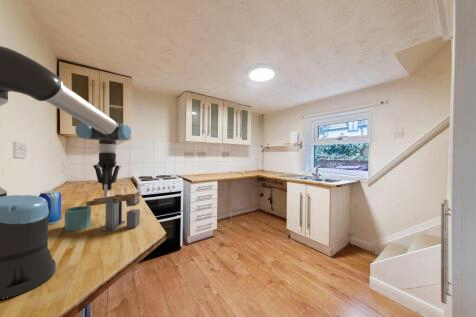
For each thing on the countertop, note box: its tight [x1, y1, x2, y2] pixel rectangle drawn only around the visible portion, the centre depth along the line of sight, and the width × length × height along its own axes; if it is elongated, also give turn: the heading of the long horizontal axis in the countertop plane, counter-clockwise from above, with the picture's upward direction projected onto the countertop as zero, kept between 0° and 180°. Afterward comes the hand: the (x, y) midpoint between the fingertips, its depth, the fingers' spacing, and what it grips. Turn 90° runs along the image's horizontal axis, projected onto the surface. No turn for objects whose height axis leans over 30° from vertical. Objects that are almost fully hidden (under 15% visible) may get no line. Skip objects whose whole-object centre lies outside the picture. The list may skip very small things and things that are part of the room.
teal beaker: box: [64, 205, 92, 232], centre depth 90 cm, size 9×9×9 cm
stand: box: [101, 193, 126, 232], centre depth 91 cm, size 11×5×15 cm, turn 6°
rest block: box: [126, 208, 141, 229], centre depth 92 cm, size 5×4×8 cm
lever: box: [85, 191, 141, 208], centre depth 96 cm, size 22×15×6 cm
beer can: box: [38, 190, 62, 226], centre depth 94 cm, size 8×8×16 cm
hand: (106, 196), depth 99 cm, fingers closed
